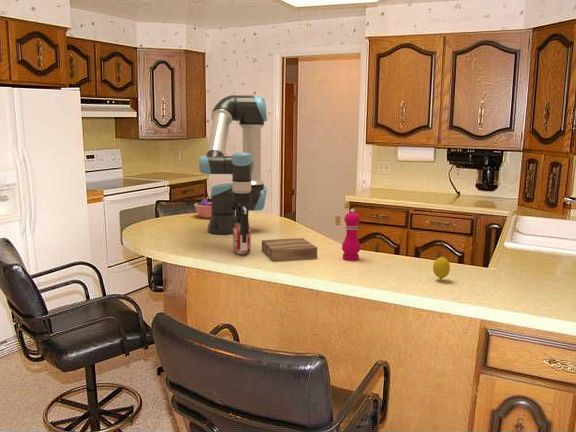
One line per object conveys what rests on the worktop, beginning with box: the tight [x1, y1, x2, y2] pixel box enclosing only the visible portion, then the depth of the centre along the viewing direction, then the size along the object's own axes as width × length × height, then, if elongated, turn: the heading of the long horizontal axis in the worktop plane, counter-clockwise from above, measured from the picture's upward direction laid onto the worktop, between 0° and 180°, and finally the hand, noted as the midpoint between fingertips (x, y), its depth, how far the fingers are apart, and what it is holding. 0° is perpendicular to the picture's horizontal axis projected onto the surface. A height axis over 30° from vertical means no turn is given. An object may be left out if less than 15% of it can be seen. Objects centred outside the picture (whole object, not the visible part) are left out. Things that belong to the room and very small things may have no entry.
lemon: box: [432, 256, 451, 280], centre depth 172 cm, size 6×6×8 cm
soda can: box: [232, 223, 252, 255], centre depth 203 cm, size 7×7×12 cm
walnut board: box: [261, 237, 318, 263], centre depth 203 cm, size 18×18×5 cm
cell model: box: [193, 198, 211, 220], centre depth 280 cm, size 17×20×11 cm
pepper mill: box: [341, 208, 361, 262], centre depth 197 cm, size 7×7×20 cm
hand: (241, 247), depth 204 cm, fingers closed on soda can, 7 cm apart
